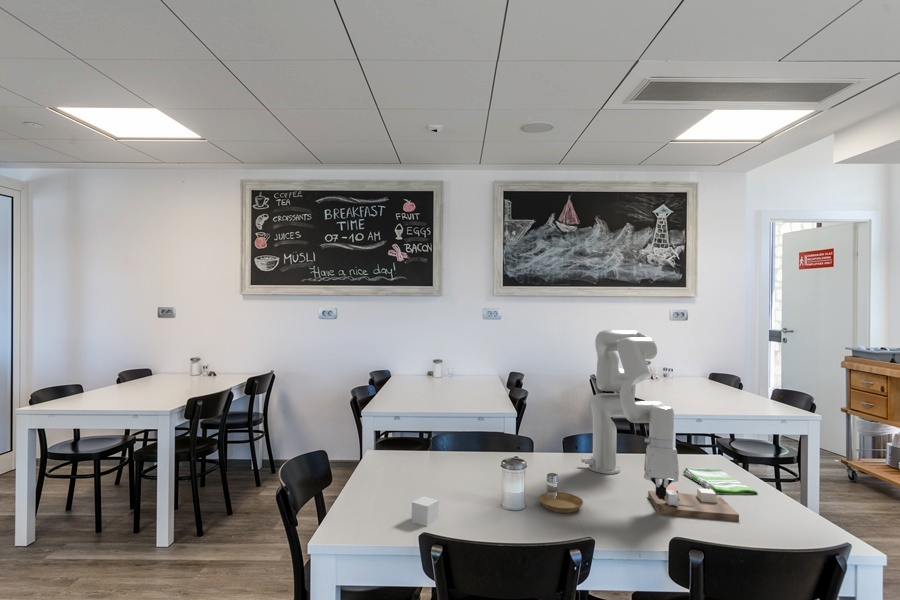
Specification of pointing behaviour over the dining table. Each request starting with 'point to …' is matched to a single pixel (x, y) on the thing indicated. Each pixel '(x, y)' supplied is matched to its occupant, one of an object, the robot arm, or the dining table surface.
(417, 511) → the white cube
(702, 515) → the switch board
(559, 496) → the plant saucer
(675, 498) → the slider knob
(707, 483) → the dish towel
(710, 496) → the cream button
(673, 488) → the terracotta button
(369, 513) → the dining table surface
